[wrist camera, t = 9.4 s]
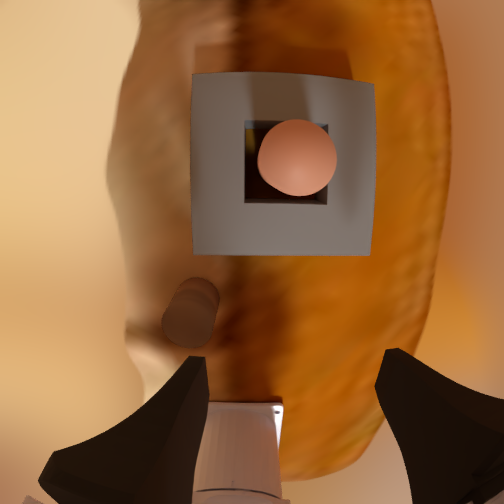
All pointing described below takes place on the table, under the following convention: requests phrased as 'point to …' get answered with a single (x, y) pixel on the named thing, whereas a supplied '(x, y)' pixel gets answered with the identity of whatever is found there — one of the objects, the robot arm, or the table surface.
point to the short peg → (191, 313)
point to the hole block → (271, 209)
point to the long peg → (297, 157)
